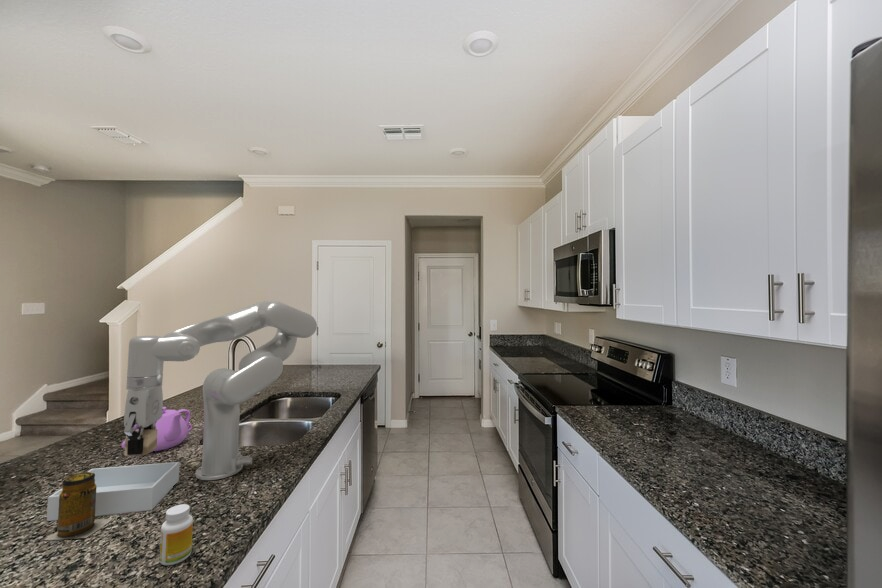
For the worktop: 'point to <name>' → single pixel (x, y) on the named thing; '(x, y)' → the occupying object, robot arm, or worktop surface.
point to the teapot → (170, 429)
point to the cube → (146, 441)
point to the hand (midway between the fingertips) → (141, 449)
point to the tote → (126, 488)
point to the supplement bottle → (176, 535)
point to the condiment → (77, 508)
